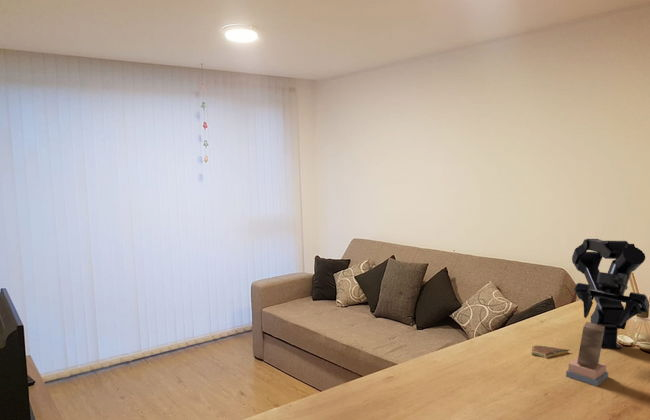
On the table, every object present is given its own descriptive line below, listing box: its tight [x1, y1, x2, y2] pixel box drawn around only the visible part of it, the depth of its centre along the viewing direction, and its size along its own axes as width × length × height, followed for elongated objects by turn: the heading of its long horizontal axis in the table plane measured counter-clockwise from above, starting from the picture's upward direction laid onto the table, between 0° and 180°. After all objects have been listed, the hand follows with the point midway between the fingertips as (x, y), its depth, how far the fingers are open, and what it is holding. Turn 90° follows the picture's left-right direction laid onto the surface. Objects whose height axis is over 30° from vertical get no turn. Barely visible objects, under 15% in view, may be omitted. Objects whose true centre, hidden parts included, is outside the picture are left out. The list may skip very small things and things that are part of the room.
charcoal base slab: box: [565, 369, 609, 387], centre depth 131 cm, size 8×8×2 cm
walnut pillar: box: [577, 321, 605, 369], centre depth 130 cm, size 4×4×11 cm
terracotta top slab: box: [567, 357, 607, 380], centre depth 131 cm, size 7×7×2 cm
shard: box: [531, 344, 570, 359], centre depth 147 cm, size 11×8×2 cm
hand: (601, 321), depth 137 cm, fingers open, 9 cm apart
